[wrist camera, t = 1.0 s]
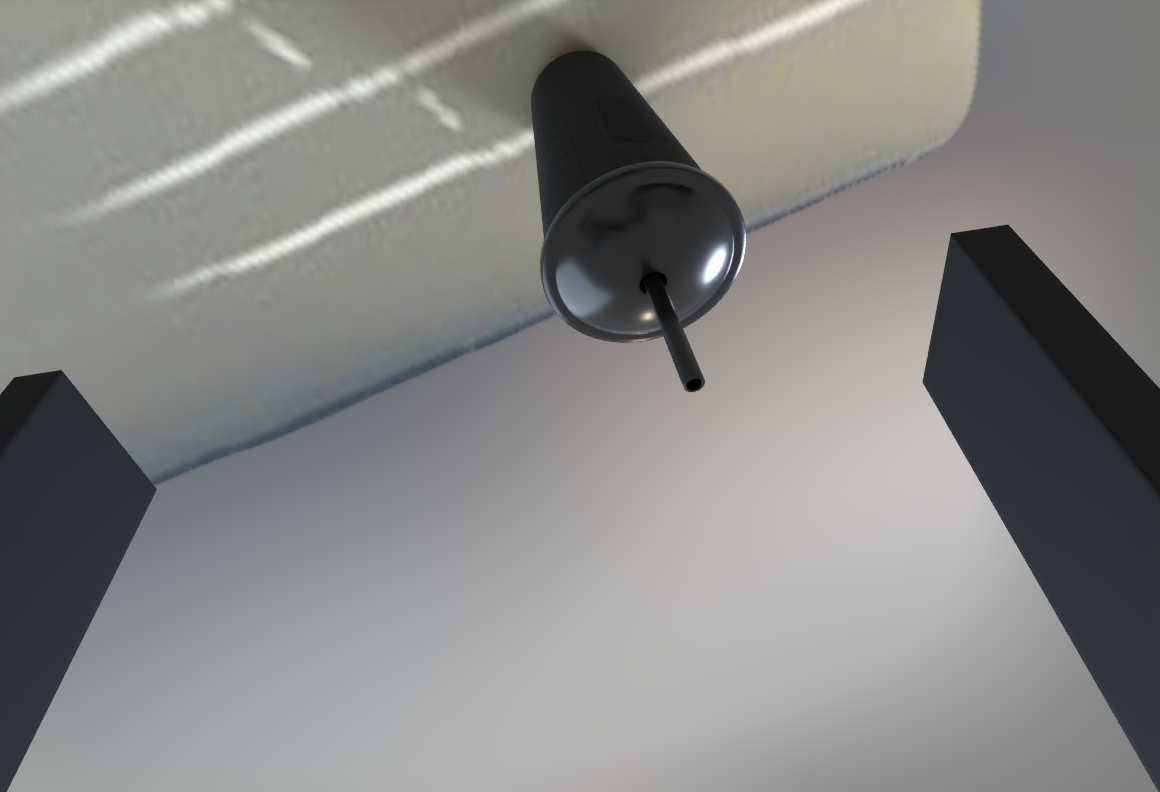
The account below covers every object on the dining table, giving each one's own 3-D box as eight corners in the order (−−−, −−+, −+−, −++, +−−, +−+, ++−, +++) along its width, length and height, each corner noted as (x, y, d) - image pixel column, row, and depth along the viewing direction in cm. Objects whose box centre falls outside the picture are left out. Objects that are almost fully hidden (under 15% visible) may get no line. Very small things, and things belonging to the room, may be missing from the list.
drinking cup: (467, 100, 36) (519, 395, 22) (590, -20, 33) (735, 233, 20) (570, 200, 41) (664, 493, 27) (684, 102, 38) (854, 374, 24)
